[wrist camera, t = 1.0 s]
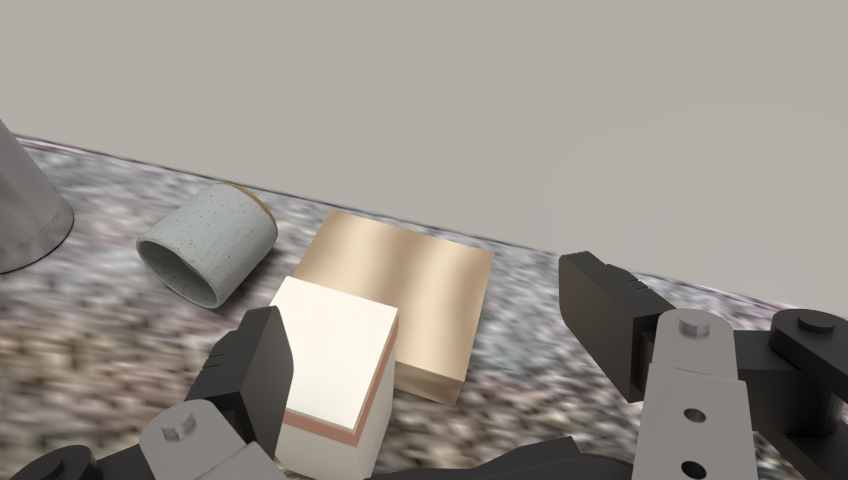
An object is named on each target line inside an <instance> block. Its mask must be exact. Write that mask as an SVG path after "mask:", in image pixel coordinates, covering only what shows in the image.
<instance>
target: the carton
mask: <svg viewBox="0 0 848 480" xmlns="http://www.w3.org/2000/svg"><path fill="white" fill-rule="evenodd" d="M274 305H276V306H277V307H278V309H279V311H280V314H281V317H282V320H283V324H284V327H285V331H286V334H287V338H288V341H289V344H290V348H291V351H292V356H293V363H294V374H293V379H292V383H291V387H290V392H289V396H288V400H287V404H286V409H285V413H284V417H283V421H282V426H281V430H280V434H279V438H278V443H277V447H276V451H275V456H276V457H277V458H278V460H279V461H280V462H281V464H282V465H283V466H284V467H285V469H287V470H290V471H293V472H296V473H299V474H301V475H304V476H307V477H310V478H313V479H316V480H364V479H365V478H370V477H371V475H372V472H373V469H374V466H375V462H376V459H377V456H378V453H379V450H380V447H381V444H382V441H383V438H384V435H385V432H386V429H387V426H388V423H389V420H390V417H391V414H392V400H393V384H394V367H395V351H396V337H397V334H398V323H399V313H398V308H395V307H391V306H388V305H384V304H381V303H378V302H374V301H371V300H367V299H364V298H361V297H357V296H354V295H350V294H347V293H344V292H340V291H337V290H333V289H330V288H326V287H323V286H320V285H316V284H313V283H309V282H306V281H303V280H299V279H296V278H292V277H289V276H287V277H286V278H285V280H284V282H283V283H282V285H281V287H280V289H279V290H278V292H277V294H276V295H275V297H274V299H273V300H272V302H271V304H270V305H269V306H274Z"/></svg>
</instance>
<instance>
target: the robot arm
mask: <svg viewBox="0 0 848 480" xmlns="http://www.w3.org/2000/svg"><path fill="white" fill-rule="evenodd" d="M72 222H73V212H72V209H71V207H70V206H69V204H68V203H67V202H66V201H65V199H64V198H63V197H62V196H61V194H60V193H59V192H58V191H57V189H56V188H55V187H54V186H53V185H52V183H51V182H50V181H49V180H48V178H47V177H46V175H45V174H44V173H43V172H42V170H41V169H40V168H39V167H38V165H37V164H36V163H35V162H34V161H33V159H32V158H31V157H30V156H29V154H28V153H27V152H26V151H25V149H24V148H23V147H22V146H21V144H20V143H19V142H18V141H17V139H16V138H15V137H14V136H13V134H12V133H11V132H10V131H9V129H8V128H7V127H6V126H5V124H4V123H3V122H2V121H1V119H0V273H3V272H8V271H11V270H14V269H17V268H20V267H23V266H25V265H28V264H30V263H32V262H34V261H36V260H38V259H39V258H41V257H43V256H44V255H46V254H48V253H49V252H50V251H51V250H53V249H54V248H55V247H56V246H58V245H59V243H60V242H61V241H62V240H63V239H64V238H65V237H66V235H67V234H68V232H69V230H70V229H71V226H72ZM559 305H560V311H561V315H562V318H563V320H564V322H565V324H566V326H567V327H568V328H569V329H570V331H571V332H572V333H573V334H574V336H575V337H576V338H577V339H578V341H579V342H580V343H581V344H582V346H583V347H584V348H585V349H586V351H587V352H588V353H589V354H590V356H591V357H592V358H593V359H594V361H595V362H596V363H597V364H598V366H599V367H600V368H601V369H602V371H603V372H604V373H605V374H606V376H607V377H608V378H609V379H610V381H611V382H612V383H613V384H614V386H615V387H616V388H617V389H618V391H619V392H620V393H621V394H622V396H623V397H624V398H625V399H626V401H627V402H628V403H634V402H639V401H644V403H643V409H642V416H641V422H640V428H639V435H638V441H637V448H636V454H635V460H634V464H631V463H629V462H627V461H624V460H620V459H617V458H614V457H610V456H606V455H601V454H594V453H581V452H580V451H579V449H578V447H577V445H576V444H575V442H574V440H573V438H572V437H571V436H568V437H564V438H559V439H554V440H549V441H544V442H539V443H535V444H530V445H525V446H521V447H519V448H517V449H514V450H512V451H510V452H508V453H506V454H504V455H502V456H499V457H497V458H495V459H493V460H491V461H489V462H487V463H484V464H482V465H480V466H478V467H475V468H472V469H441V468H413V469H409V470H404V471H399V472H394V473H389V474H384V475H380V476H375V477H370V478H365V479H364V480H758V475H757V467H756V459H755V451H754V442H753V434H752V431H759V433H760V434H761V435H762V436H763V437H764V438H765V439H766V440H767V441H768V442H769V443H770V444H771V445H772V446H773V447H774V448H775V449H776V450H777V451H778V452H779V453H780V454H781V455H782V456H783V457H784V458H785V459H786V460H787V461H788V462H789V463H790V464H791V465H792V466H794V467H795V468H796V469H797V470H798V471H799V472H800V473H801V474H802V475H803V476H804V477H805V478H806V479H807V480H848V425H847V424H846V423H845V422H844V421H842V420H841V419H840V416H841V412H842V409H843V405H844V402H846V403H847V404H848V321H846V320H844V319H842V318H840V317H837V316H835V315H832V314H829V313H825V312H821V311H816V310H809V309H786V310H782V311H779V312H777V313H775V314H774V316H773V318H772V323H771V329H770V331H753V330H733V329H732V327H731V325H730V324H729V323H728V322H727V321H726V320H724V319H723V318H721V317H719V316H717V315H715V314H712V313H709V312H706V311H702V310H697V309H688V308H681V309H677V308H676V307H674V306H673V305H672V304H670V303H669V302H668V301H666V300H665V299H664V298H662V297H661V296H660V295H658V294H657V293H656V292H654V291H653V290H652V289H648V286H646V285H645V284H644V283H642V282H641V281H638V279H637V278H636V277H634V276H633V275H632V274H630V273H629V272H628V271H626V270H624V269H621V268H618V267H616V266H613V265H610V264H607V265H605V264H604V263H603V262H601V261H600V260H599V259H598V258H596V257H595V256H594V255H592V254H591V253H590V252H588V251H584V252H579V253H573V254H567V255H562V256H561V257H560V259H559ZM202 368H203V370H201V371H200V373H199V375H198V377H197V378H196V380H195V382H194V384H193V386H192V387H191V389H190V391H189V393H188V395H187V397H186V398H185V400H184V402H183V403H180V404H177V405H175V406H173V407H171V408H169V409H167V410H165V411H164V412H162V413H161V414H159V415H158V416H156V417H155V418H154V419H153V420H152V421H151V422H150V423H149V424H148V425H147V426H146V427H145V428H144V430H143V431H142V433H141V435H140V438H139V444H137V445H134V446H132V447H130V448H127V449H125V450H122V451H120V452H117V453H115V454H112V455H110V456H107V457H105V458H102V459H100V460H97V461H96V460H95V458H94V456H93V454H92V452H91V451H90V449H89V448H88V447H86V446H83V445H72V446H67V447H63V448H60V449H57V450H54V451H52V452H50V453H47V454H45V455H43V456H41V457H40V458H38V459H36V460H34V461H33V462H31V463H30V464H28V465H27V466H25V467H24V468H22V469H21V470H20V471H19V472H17V473H16V474H15V475H14V476H13V477H12V478H11V479H10V480H289V479H288V478H287V477H286V476H285V475H284V473H283V472H282V471H281V470H280V469H279V468H278V466H277V465H276V464H275V463H274V462H273V460H274V455H275V451H276V447H277V443H278V438H279V434H280V430H281V426H282V421H283V417H284V413H285V409H286V404H287V400H288V396H289V392H290V387H291V383H292V379H293V374H294V363H293V356H292V351H291V348H290V344H289V341H288V338H287V334H286V331H285V327H284V324H283V320H282V317H281V314H280V311H279V309H278V307H277V306H276V305H274V306H268V307H262V308H257V309H251V310H247V311H246V313H245V315H244V317H243V319H242V321H241V323H240V325H239V327H238V329H237V330H234V331H229V332H228V333H227V334H226V335H225V336H224V337H223V338H221V339H220V340H219V341H218V342H217V343H216V344H215V346H214V347H213V349H212V351H211V353H210V355H209V359H207V360H206V362H205V364H204V366H203V367H202Z"/></svg>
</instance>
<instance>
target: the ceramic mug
mask: <svg viewBox="0 0 848 480" xmlns="http://www.w3.org/2000/svg"><path fill="white" fill-rule="evenodd" d="M277 235H278V231H277V225H276V222H275V220H274V218H273V215H272V214H271V212H270V211H269V209H268V208H267V207H266V206H265V204H264V203H263V202H262V201H261V200H260V199H258V198H257V197H256V196H255V195H254V194H252V193H251V192H250V191H248V190H246V189H244V188H243V187H241V186H238V185H235V184H231V183H225V182H224V183H217V184H215V185H212V186H210V187H208V188H206V189H204V190H203V191H201V192H199V193H198V194H196V195H195V196H194V197H193V198H191V199H190V200H189V201H188V202H186V203H185V204H184V205H182V206H181V207H180V208H178V209H177V210H175V211H174V212H173V213H171V214H170V215H168V216H167V217H166V218H164V219H163V220H161V221H160V222H159V223H157V224H156V225H154V226H153V227H151V228H150V229H149V230H147V231H146V232H144V233H143V234H142V235H141V236H140V237H139V238H138V239H137V241H136V248H137V251H138V253H139V255H140V257H141V259H142V260H143V261H144V263H145V264H146V265H147V266H148V267H149V268H150V270H151V271H152V272H153V273H154V274H155V275H156V276H157V277H158V278H159V279H160V280H161V281H162V282H163V283H165V284H166V285H167V286H168V287H170V288H171V289H172V290H173V291H175V292H176V293H178V294H180V295H181V296H183V297H185V298H186V299H187V300H189V301H191V302H193V303H195V304H197V305H199V306H202V307H205V308H213V309H215V308H218V307H219V306H221V305H222V304H223V303H224V302H225V301H226V299H227V298H228V297H229V296H230V295H231V294H232V293H233V291H234V290H235V289H236V288H237V287H238V286H239V285H240V283H241V282H242V281H243V280H244V279H245V278H246V277H247V276H248V275H249V273H250V272H251V271H252V270H253V269H254V268H255V266H256V265H257V264H258V263H259V262H260V261H261V260H262V259H263V258H264V257H265V256H266V255H267V253H268V252H269V251H270V249H271V247H272V246H273V244H274V243H275V241H276V239H277Z"/></svg>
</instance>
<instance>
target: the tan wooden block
mask: <svg viewBox="0 0 848 480" xmlns="http://www.w3.org/2000/svg"><path fill="white" fill-rule="evenodd" d="M493 257H494V253H491V252H488V251H484V250H480V249H476V248H473V247H469V246H465V245H462V244H458V243H454V242H451V241H447V240H443V239H440V238H436V237H432V236H429V235H425V234H421V233H417V232H414V231H410V230H406V229H403V228H399V227H395V226H392V225H388V224H384V223H381V222H377V221H373V220H369V219H366V218H362V217H358V216H355V215H351V214H347V213H344V212H340V211H336V210H333V209H331V210H330V212H329V214H328V215H327V217H326V219H325V220H324V222H323V224H322V226H321V227H320V229H319V231H318V232H317V234H316V236H315V238H314V239H313V241H312V243H311V244H310V246H309V248H308V249H307V251H306V253H305V255H304V256H303V258H302V260H301V261H300V263H299V265H298V267H297V268H296V270H295V272H294V273H293V275H292V278H296V279H299V280H303V281H306V282H309V283H313V284H316V285H320V286H323V287H326V288H330V289H333V290H337V291H340V292H344V293H347V294H350V295H354V296H357V297H361V298H364V299H367V300H371V301H374V302H378V303H381V304H384V305H388V306H391V307H395V308H398V313H399V323H398V334H397V337H396V351H395V367H394V384H393V388H395V389H398V390H402V391H405V392H408V393H411V394H414V395H417V396H421V397H424V398H427V399H430V400H433V401H436V402H440V403H443V404H446V405H449V406H452V407H455V404H456V402H457V399H458V396H459V394H460V391H461V389H462V386H463V384H464V381H465V377H466V372H467V368H468V364H469V360H470V355H471V351H472V347H473V342H474V338H475V334H476V330H477V325H478V321H479V317H480V312H481V308H482V304H483V300H484V295H485V291H486V287H487V282H488V278H489V274H490V270H491V265H492V261H493Z"/></svg>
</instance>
